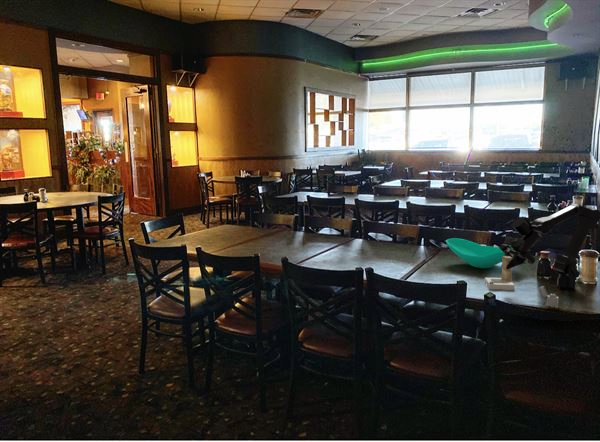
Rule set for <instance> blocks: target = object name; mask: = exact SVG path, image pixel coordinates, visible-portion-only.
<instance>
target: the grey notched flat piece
mask: <svg viewBox="0 0 600 442" xmlns="http://www.w3.org/2000/svg"><path fill="white" fill-rule="evenodd" d="M539 289H540V292H541V294H542V297H545V298H546V305H545V306H546V307H549V306H550V308H554V307H555V309H558V308H559V299H560V297H559V296H557V295H556V294H555V293H550V294H548V292H547V290H546V287H545V286H544V285H542V286H540V287H539Z"/></svg>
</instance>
